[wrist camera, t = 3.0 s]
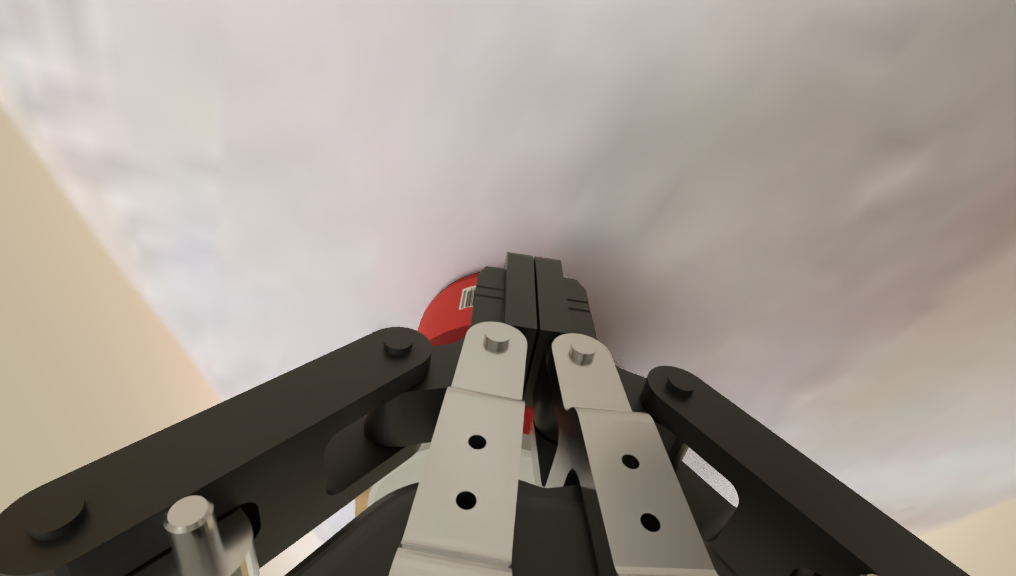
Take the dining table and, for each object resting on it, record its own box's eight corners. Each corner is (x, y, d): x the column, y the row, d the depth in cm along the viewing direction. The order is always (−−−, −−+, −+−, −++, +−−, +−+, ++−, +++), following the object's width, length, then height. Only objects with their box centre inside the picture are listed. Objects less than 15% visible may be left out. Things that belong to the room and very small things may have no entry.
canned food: (392, 325, 26) (319, 513, 17) (500, 235, 23) (484, 403, 14) (490, 402, 29) (474, 600, 20) (598, 331, 26) (639, 525, 17)
